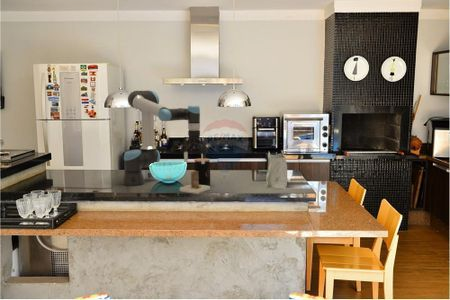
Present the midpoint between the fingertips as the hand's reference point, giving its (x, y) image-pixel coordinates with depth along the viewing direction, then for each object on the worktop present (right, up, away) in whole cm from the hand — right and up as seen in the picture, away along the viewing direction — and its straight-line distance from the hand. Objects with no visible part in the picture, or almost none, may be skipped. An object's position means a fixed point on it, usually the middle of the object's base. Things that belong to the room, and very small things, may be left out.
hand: (194, 162), depth 284 cm
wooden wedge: (0, -18, +2) cm, 18 cm away
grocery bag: (+55, -15, +25) cm, 63 cm away
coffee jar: (+4, -16, +18) cm, 25 cm away
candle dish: (0, -18, +2) cm, 18 cm away
